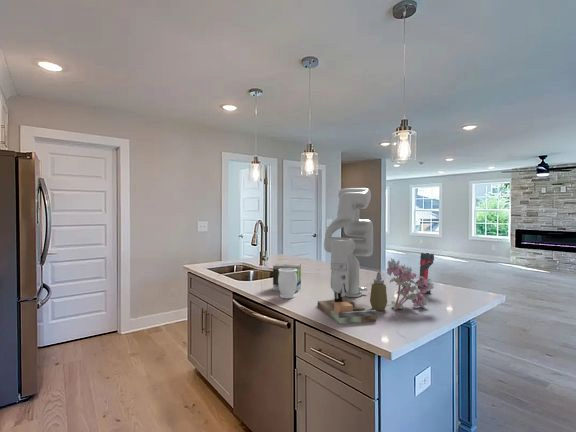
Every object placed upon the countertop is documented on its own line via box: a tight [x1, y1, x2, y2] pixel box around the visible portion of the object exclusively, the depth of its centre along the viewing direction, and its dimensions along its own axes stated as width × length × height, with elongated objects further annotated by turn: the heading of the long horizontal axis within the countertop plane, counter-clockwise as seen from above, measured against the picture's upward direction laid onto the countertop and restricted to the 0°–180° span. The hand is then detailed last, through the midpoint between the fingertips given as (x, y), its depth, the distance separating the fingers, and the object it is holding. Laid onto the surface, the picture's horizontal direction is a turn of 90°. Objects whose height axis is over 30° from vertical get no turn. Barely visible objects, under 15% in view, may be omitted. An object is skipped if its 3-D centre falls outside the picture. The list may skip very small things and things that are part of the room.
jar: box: [278, 268, 297, 299], centre depth 176 cm, size 11×10×15 cm
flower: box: [386, 257, 435, 311], centre depth 158 cm, size 20×22×25 cm
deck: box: [317, 298, 377, 325], centre depth 149 cm, size 17×26×4 cm, turn 15°
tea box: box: [272, 263, 302, 293], centre depth 193 cm, size 15×10×15 cm, turn 76°
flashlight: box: [417, 252, 435, 294], centre depth 190 cm, size 8×8×23 cm
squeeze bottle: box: [369, 271, 388, 312], centre depth 156 cm, size 8×8×18 cm
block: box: [334, 302, 353, 315], centre depth 141 cm, size 6×6×4 cm
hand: (338, 306), depth 146 cm, fingers closed
